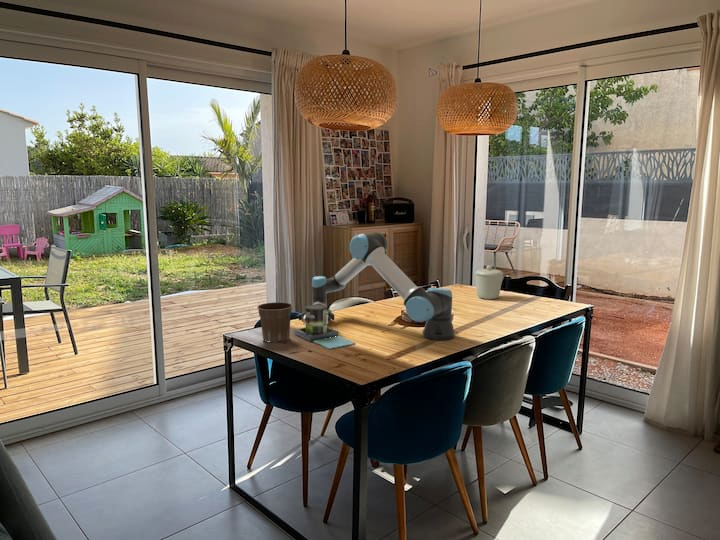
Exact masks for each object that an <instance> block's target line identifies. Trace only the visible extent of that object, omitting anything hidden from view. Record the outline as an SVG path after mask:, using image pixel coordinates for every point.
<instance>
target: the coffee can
mask: <svg viewBox="0 0 720 540" xmlns="http://www.w3.org/2000/svg"><path fill="white" fill-rule="evenodd" d="M327 307H328V305H327V306H325V305H319V304H314V305H312V304H308V305H305V307H304V309H305V310H306V323H305V327H306V333H308V334H310V335H315V334H321V333H326V332H327V327H328V324H326V316H327V312H328V309H327ZM305 310H304V311H305Z"/></svg>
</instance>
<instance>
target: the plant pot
mask: <svg viewBox="0 0 720 540" xmlns="http://www.w3.org/2000/svg"><path fill="white" fill-rule="evenodd" d="M293 306H294V305H293V304H292V303H290V302H281V301H280V302H279V301H278V302H266V303H262V304H259V305H257V307H256V308H257V310H258V315H259V318H260V319H259V320H260V324H261V325H260V327H261V333H262V340H263V339H264V340H266V341H270V342H277V343H280V342H282V341H284V342H287V341H289V339H290V335H291V334H290V333H291V332H290V331H291V316H292V308H293ZM264 340H263V341H264ZM286 340H287V341H286Z"/></svg>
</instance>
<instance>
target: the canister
mask: <svg viewBox="0 0 720 540" xmlns="http://www.w3.org/2000/svg"><path fill="white" fill-rule="evenodd" d="M474 274H475V287H476V294H477V297H478V298H479V297H480V298H479V299H482V298H484V299H483V300H496V298H497V299H498V298H499V296H500V294H501V288H502V287H501V286H502V280H503V275H504V272H502V270H500V269H494V268H493V266H492V265H489V264H488V265H486V268H481V269H477V270H475V271H474Z"/></svg>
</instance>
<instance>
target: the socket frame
mask: <svg viewBox="0 0 720 540" xmlns="http://www.w3.org/2000/svg"><path fill="white" fill-rule="evenodd" d="M293 331H294V332H293V333H295V334H296V336H297V335H298V337H299V336H300V337H299V338H301V337H302V339H304V340H305V341H308V342H310V343H311V342H313V341H315V340H320V339H325V338H330V337H335V336H339V331H338V330H336V329H334V328H331V327H328V326H327V332H326V333H321V334H315V335H310V334H308V333H306V326H304V327H300V328H295V329H294V330H293ZM295 334H294V335H295Z"/></svg>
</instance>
